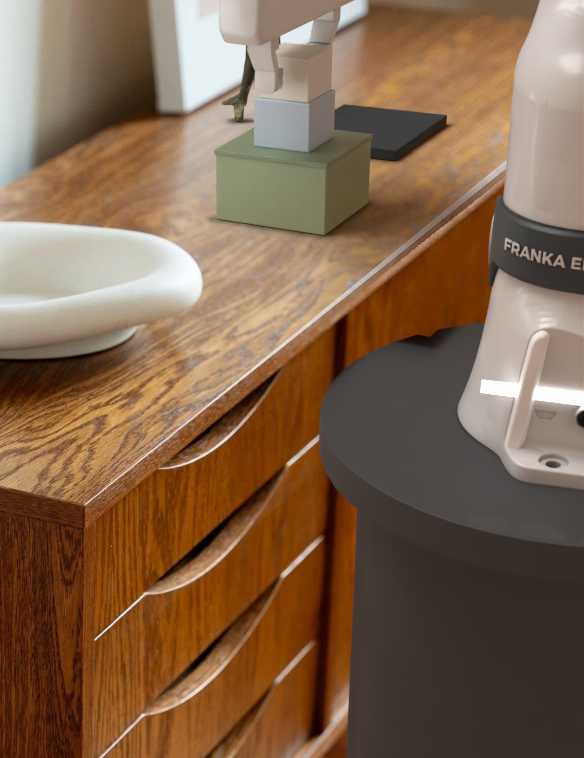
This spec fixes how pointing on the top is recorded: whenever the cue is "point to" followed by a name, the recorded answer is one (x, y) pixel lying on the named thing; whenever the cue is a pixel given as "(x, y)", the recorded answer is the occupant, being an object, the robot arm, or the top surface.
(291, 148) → the gray box
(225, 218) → the storage box
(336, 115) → the mat
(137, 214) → the top surface
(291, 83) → the beige cube
